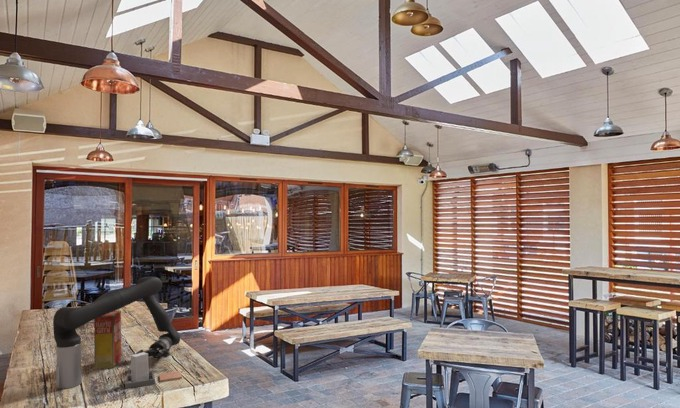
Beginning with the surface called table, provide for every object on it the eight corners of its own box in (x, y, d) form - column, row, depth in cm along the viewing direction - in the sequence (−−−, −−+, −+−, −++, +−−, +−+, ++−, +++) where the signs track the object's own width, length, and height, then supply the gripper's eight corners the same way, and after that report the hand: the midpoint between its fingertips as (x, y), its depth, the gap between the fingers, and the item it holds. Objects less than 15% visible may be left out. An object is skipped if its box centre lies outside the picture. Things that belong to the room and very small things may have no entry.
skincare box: (144, 379, 209) (143, 351, 209) (149, 381, 206) (148, 353, 207) (130, 383, 204) (130, 355, 205) (135, 385, 202) (135, 356, 202)
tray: (125, 388, 198) (125, 383, 198) (125, 380, 209) (125, 375, 209) (154, 383, 202) (154, 379, 203) (153, 375, 213) (153, 371, 213)
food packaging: (114, 368, 226) (113, 315, 227) (93, 369, 225) (92, 316, 225) (122, 359, 239) (121, 310, 240) (102, 361, 238) (101, 311, 238)
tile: (160, 382, 205) (160, 380, 205) (159, 375, 213) (159, 374, 213) (182, 378, 208) (182, 376, 208) (180, 372, 216) (180, 370, 216)
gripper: (144, 341, 232) (131, 350, 216) (174, 339, 233) (163, 349, 217) (144, 356, 232) (132, 367, 215) (174, 355, 233) (164, 365, 216)
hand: (148, 358), depth 216 cm, fingers open, 8 cm apart
